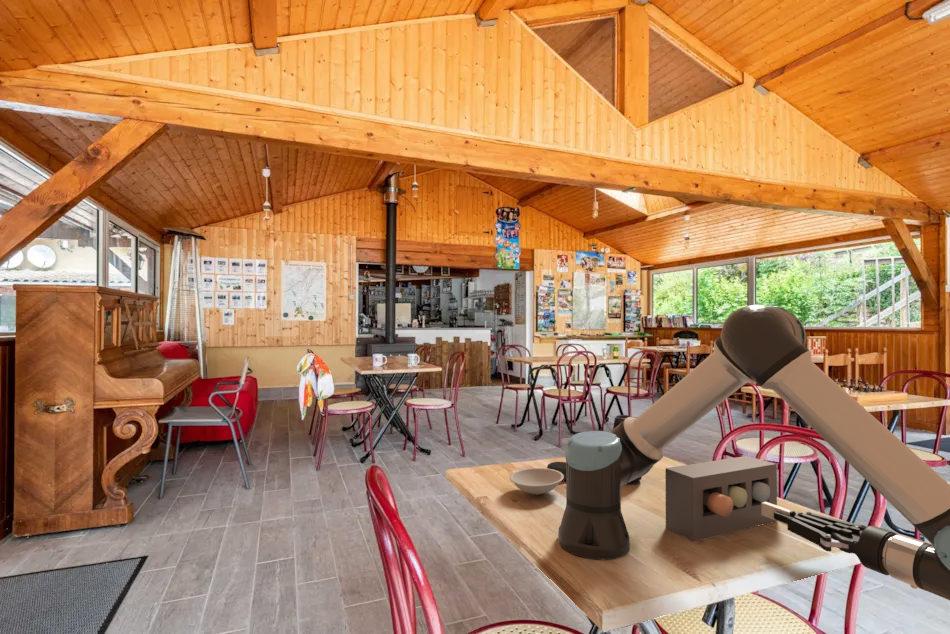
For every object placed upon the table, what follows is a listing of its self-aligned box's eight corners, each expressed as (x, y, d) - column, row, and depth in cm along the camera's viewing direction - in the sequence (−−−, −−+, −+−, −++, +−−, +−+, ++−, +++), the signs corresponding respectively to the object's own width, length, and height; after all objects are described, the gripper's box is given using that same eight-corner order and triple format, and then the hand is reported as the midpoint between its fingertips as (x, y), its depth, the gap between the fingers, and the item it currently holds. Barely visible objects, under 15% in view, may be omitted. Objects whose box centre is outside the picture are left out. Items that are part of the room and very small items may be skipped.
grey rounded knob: (757, 503, 114) (757, 484, 114) (734, 495, 119) (734, 477, 119) (770, 501, 116) (770, 482, 116) (747, 493, 121) (747, 475, 121)
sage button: (734, 508, 110) (734, 489, 111) (711, 500, 116) (711, 481, 116) (747, 505, 112) (747, 486, 112) (724, 497, 118) (724, 479, 118)
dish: (530, 481, 148) (530, 464, 148) (573, 490, 139) (573, 473, 139) (498, 497, 134) (498, 479, 134) (543, 509, 125) (543, 489, 125)
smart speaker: (578, 475, 154) (578, 463, 154) (571, 484, 146) (571, 470, 146) (551, 472, 158) (551, 459, 158) (543, 479, 150) (543, 466, 150)
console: (693, 541, 106) (693, 477, 107) (665, 527, 114) (665, 468, 114) (777, 521, 118) (776, 463, 118) (747, 510, 125) (746, 455, 125)
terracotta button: (719, 518, 105) (719, 498, 105) (696, 508, 110) (696, 489, 110) (733, 515, 107) (733, 495, 107) (710, 505, 112) (710, 486, 112)
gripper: (872, 584, 82) (743, 530, 103) (913, 568, 87) (782, 520, 108) (872, 540, 82) (743, 495, 103) (912, 527, 87) (782, 487, 109)
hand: (763, 508), depth 106 cm, fingers closed
